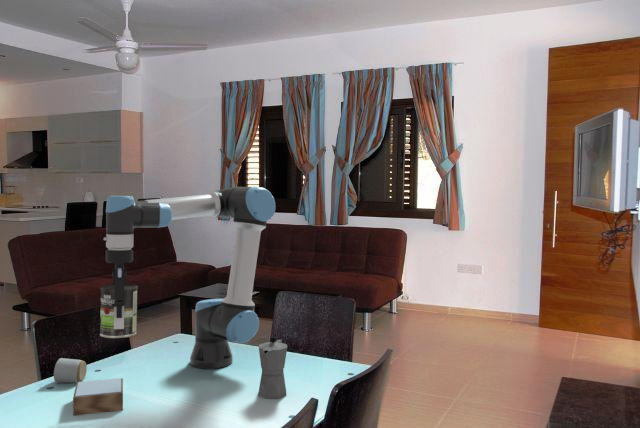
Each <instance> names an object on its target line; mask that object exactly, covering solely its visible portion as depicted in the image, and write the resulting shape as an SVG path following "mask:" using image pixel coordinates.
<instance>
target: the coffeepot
mask: <svg viewBox="0 0 640 428" xmlns="http://www.w3.org/2000/svg"><path fill="white" fill-rule="evenodd" d="M287 351H288V344H286V343H285V340H284V339H283V338H279V339H277V340H276V336H270V341H267V342H263V343H260V344H258V354H259V360H260V367H261V374H260V375H261V376H260V382H259V388H258V396H259V397H261V398H262V399H267V400H268V399H269V400H273V399H274V400H276V399H282V398H284V397H286V396H287V386H286V380H285V373H284V372H285V371H284V369H285V366H286V359H287V357H286V356H287Z"/></svg>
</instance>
